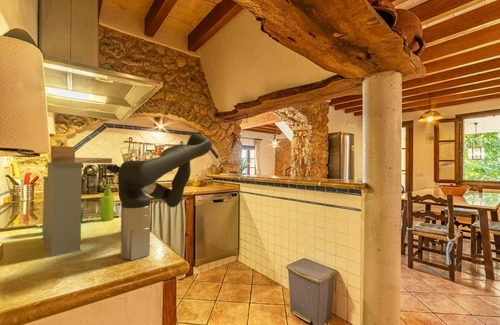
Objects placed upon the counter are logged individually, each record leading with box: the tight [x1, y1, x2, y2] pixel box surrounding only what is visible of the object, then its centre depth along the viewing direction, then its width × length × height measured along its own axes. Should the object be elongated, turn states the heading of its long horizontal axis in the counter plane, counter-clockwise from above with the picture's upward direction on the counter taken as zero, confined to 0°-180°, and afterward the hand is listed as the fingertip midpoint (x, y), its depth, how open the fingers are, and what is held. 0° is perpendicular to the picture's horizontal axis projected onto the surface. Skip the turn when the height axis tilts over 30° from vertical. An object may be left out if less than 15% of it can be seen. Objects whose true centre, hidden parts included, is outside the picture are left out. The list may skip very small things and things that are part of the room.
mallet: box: [50, 145, 113, 164], centre depth 90 cm, size 7×19×6 cm, turn 137°
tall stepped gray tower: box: [42, 161, 84, 258], centre depth 89 cm, size 26×8×32 cm, turn 47°
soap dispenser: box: [100, 183, 116, 222], centre depth 127 cm, size 6×7×20 cm
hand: (110, 166), depth 96 cm, fingers open, 8 cm apart
